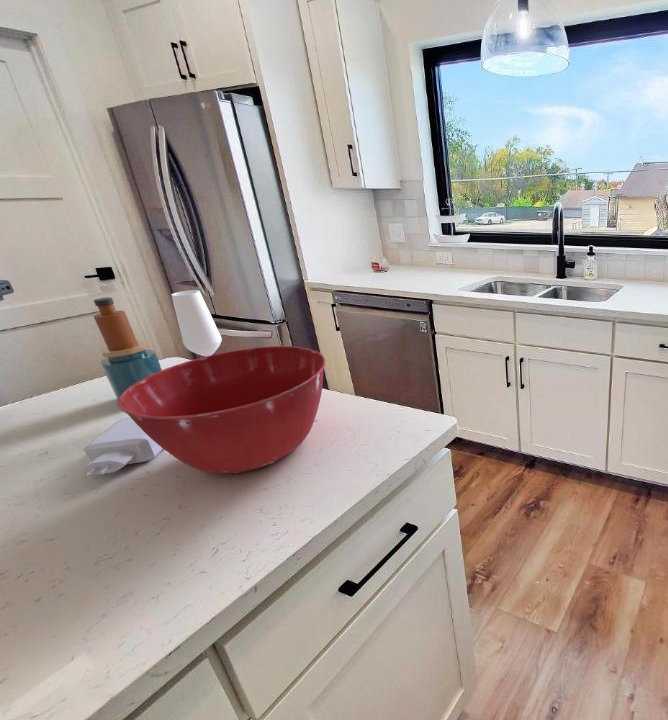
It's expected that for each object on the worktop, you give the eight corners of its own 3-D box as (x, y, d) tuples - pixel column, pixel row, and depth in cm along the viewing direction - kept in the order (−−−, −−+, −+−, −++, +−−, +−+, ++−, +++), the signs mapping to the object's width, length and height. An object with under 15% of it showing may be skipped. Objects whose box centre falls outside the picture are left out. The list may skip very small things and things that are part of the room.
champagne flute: (245, 390, 99) (212, 290, 89) (215, 403, 93) (176, 298, 84) (228, 385, 101) (194, 288, 92) (197, 397, 96) (158, 295, 86)
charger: (66, 492, 66) (126, 440, 80) (134, 482, 68) (181, 433, 82) (52, 468, 65) (115, 419, 78) (123, 458, 67) (173, 412, 80)
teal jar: (108, 408, 92) (83, 355, 87) (137, 389, 100) (115, 340, 95) (154, 404, 93) (132, 352, 88) (179, 386, 101) (160, 338, 96)
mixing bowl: (289, 399, 94) (271, 335, 88) (373, 434, 81) (358, 360, 74) (128, 468, 72) (88, 388, 66) (206, 531, 58) (166, 438, 52)
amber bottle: (102, 351, 89) (79, 302, 85) (119, 343, 93) (98, 296, 89) (127, 349, 90) (106, 301, 85) (143, 342, 94) (124, 295, 90)
